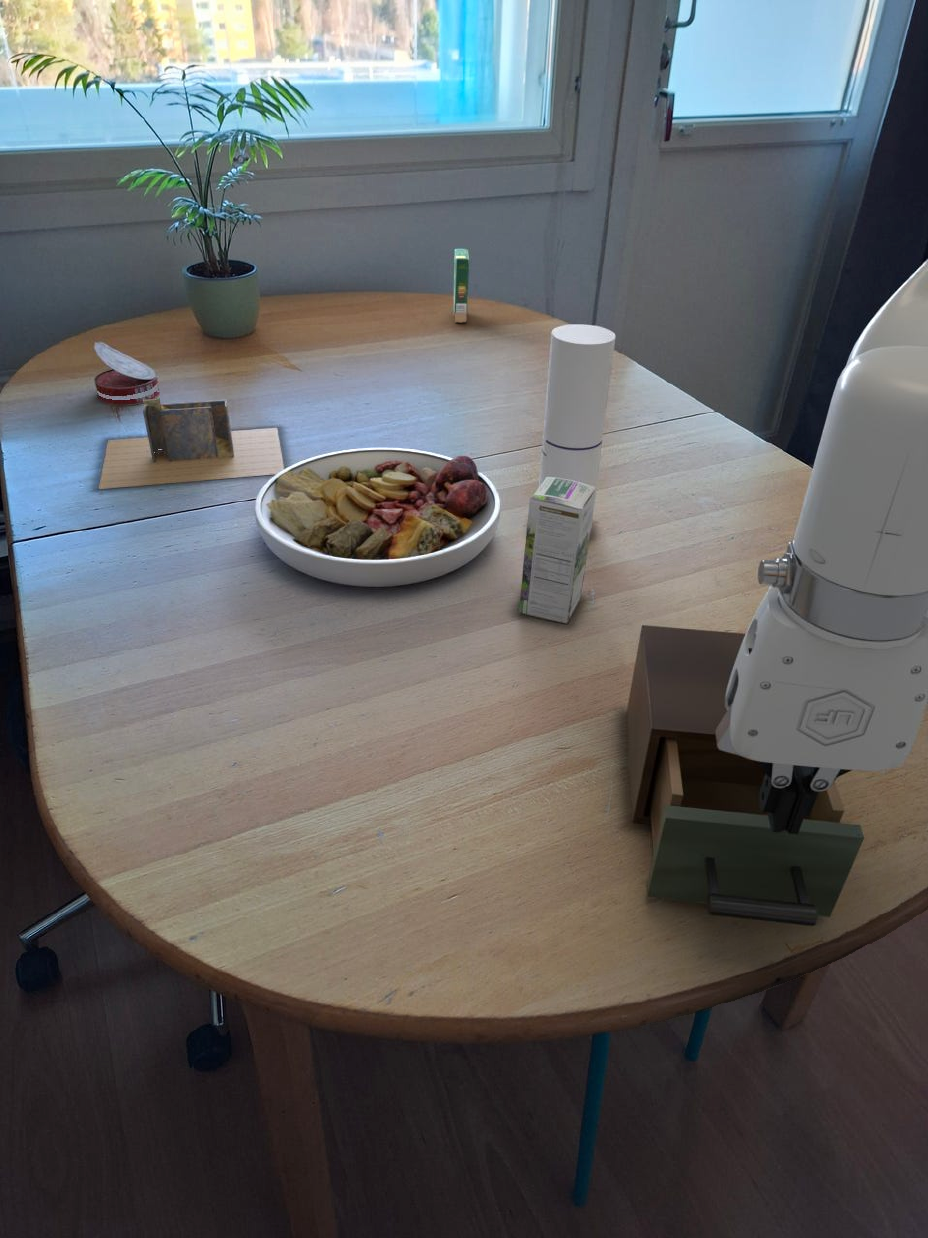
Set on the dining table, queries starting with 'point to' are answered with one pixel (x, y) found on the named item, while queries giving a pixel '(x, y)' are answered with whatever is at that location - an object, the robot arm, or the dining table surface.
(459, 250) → the coffee box
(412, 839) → the dining table surface
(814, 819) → the drawer
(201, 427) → the ruin model on sheet
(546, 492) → the syrup box
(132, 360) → the canned food
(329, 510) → the bowl
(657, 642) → the cabinet
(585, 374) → the cylindrical container
